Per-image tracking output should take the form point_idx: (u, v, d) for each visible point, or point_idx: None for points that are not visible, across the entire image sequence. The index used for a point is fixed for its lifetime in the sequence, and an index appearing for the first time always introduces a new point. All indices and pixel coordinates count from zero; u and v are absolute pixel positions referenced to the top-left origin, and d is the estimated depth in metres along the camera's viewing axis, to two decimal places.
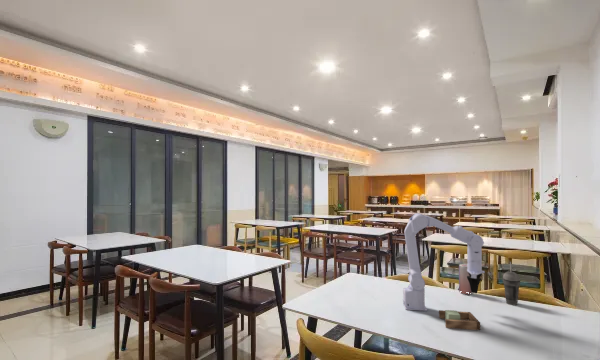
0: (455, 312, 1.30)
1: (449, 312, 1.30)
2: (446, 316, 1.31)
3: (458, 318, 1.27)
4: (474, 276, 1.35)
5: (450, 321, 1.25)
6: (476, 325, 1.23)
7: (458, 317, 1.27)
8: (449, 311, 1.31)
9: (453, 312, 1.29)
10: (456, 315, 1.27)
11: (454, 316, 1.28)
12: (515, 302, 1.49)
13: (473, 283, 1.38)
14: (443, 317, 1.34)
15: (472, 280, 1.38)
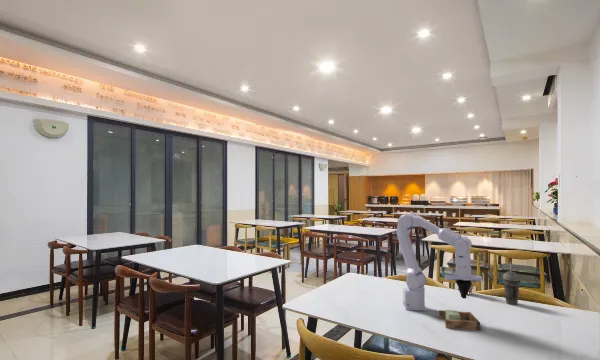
0: (455, 312, 1.30)
1: (449, 312, 1.30)
2: (446, 316, 1.31)
3: (458, 318, 1.27)
4: (445, 278, 1.34)
5: (450, 321, 1.25)
6: (476, 325, 1.23)
7: (458, 317, 1.27)
8: (449, 311, 1.31)
9: (453, 312, 1.29)
10: (456, 315, 1.27)
11: (454, 316, 1.28)
12: (515, 302, 1.49)
13: None
14: (443, 317, 1.34)
15: None
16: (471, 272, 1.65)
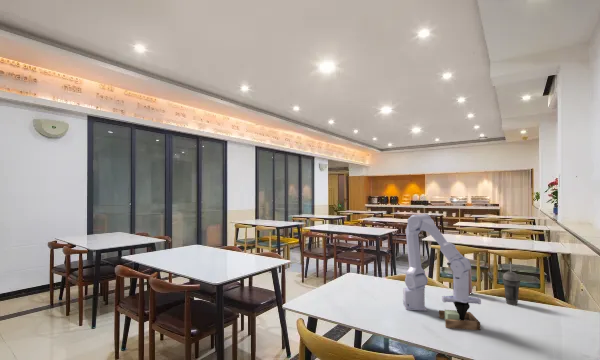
0: (454, 312, 1.30)
1: (448, 312, 1.30)
2: (445, 316, 1.31)
3: (457, 318, 1.27)
4: (442, 299, 1.30)
5: (450, 321, 1.25)
6: (476, 325, 1.23)
7: (457, 317, 1.27)
8: (448, 311, 1.31)
9: (452, 312, 1.29)
10: (455, 315, 1.27)
11: (453, 315, 1.28)
12: (515, 302, 1.49)
13: None
14: (443, 317, 1.34)
15: None
16: (471, 272, 1.65)
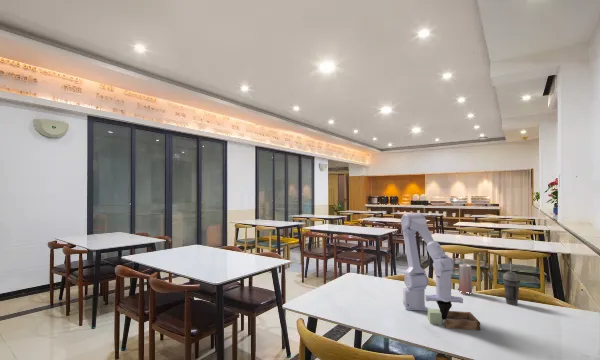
0: (437, 311, 1.31)
1: (431, 311, 1.31)
2: (428, 315, 1.32)
3: (439, 316, 1.28)
4: (425, 298, 1.31)
5: (450, 321, 1.25)
6: (476, 325, 1.23)
7: (439, 316, 1.28)
8: (431, 310, 1.32)
9: (435, 311, 1.31)
10: (437, 314, 1.29)
11: (435, 314, 1.29)
12: (515, 302, 1.49)
13: None
14: None
15: None
16: (471, 272, 1.65)
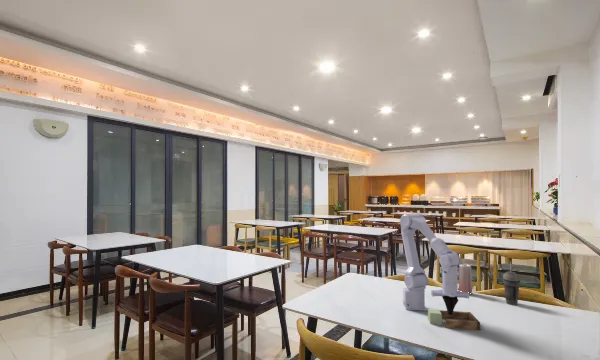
0: (437, 311, 1.31)
1: (431, 311, 1.31)
2: (428, 315, 1.32)
3: (439, 317, 1.28)
4: (431, 293, 1.31)
5: (450, 321, 1.25)
6: (476, 325, 1.23)
7: (439, 316, 1.28)
8: (431, 310, 1.32)
9: (435, 311, 1.31)
10: (438, 314, 1.29)
11: (435, 314, 1.29)
12: (515, 302, 1.49)
13: (447, 303, 1.30)
14: (443, 317, 1.34)
15: None
16: (471, 272, 1.65)
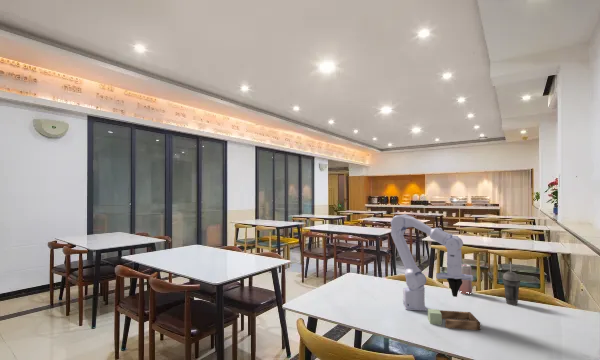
0: (437, 311, 1.31)
1: (431, 311, 1.31)
2: (428, 315, 1.32)
3: (439, 317, 1.28)
4: (436, 276, 1.36)
5: (450, 321, 1.25)
6: (476, 325, 1.23)
7: (439, 316, 1.28)
8: (431, 310, 1.32)
9: (435, 311, 1.31)
10: (437, 314, 1.29)
11: (435, 314, 1.29)
12: (515, 302, 1.49)
13: None
14: (443, 317, 1.34)
15: None
16: (471, 272, 1.65)
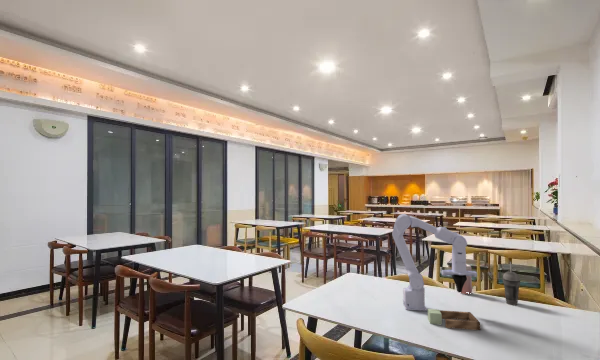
0: (437, 311, 1.31)
1: (431, 311, 1.31)
2: (428, 315, 1.32)
3: (439, 317, 1.28)
4: (442, 273, 1.42)
5: (450, 321, 1.25)
6: (476, 325, 1.23)
7: (439, 316, 1.28)
8: (431, 310, 1.32)
9: (435, 311, 1.31)
10: (437, 314, 1.29)
11: (435, 314, 1.29)
12: (515, 302, 1.49)
13: None
14: (443, 317, 1.34)
15: None
16: None
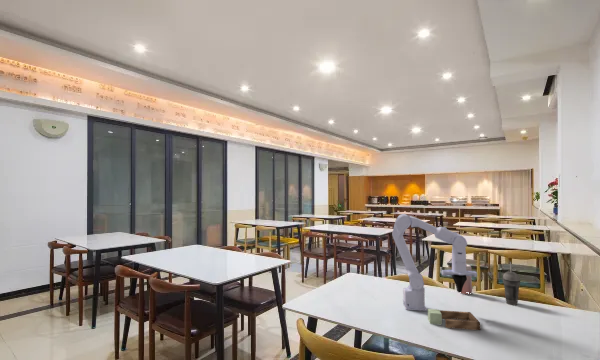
0: (437, 311, 1.31)
1: (431, 311, 1.31)
2: (428, 315, 1.32)
3: (439, 317, 1.28)
4: (442, 273, 1.42)
5: (450, 321, 1.25)
6: (476, 325, 1.23)
7: (439, 316, 1.28)
8: (431, 310, 1.32)
9: (435, 311, 1.31)
10: (437, 314, 1.29)
11: (435, 314, 1.29)
12: (515, 302, 1.49)
13: None
14: (443, 317, 1.34)
15: None
16: None
